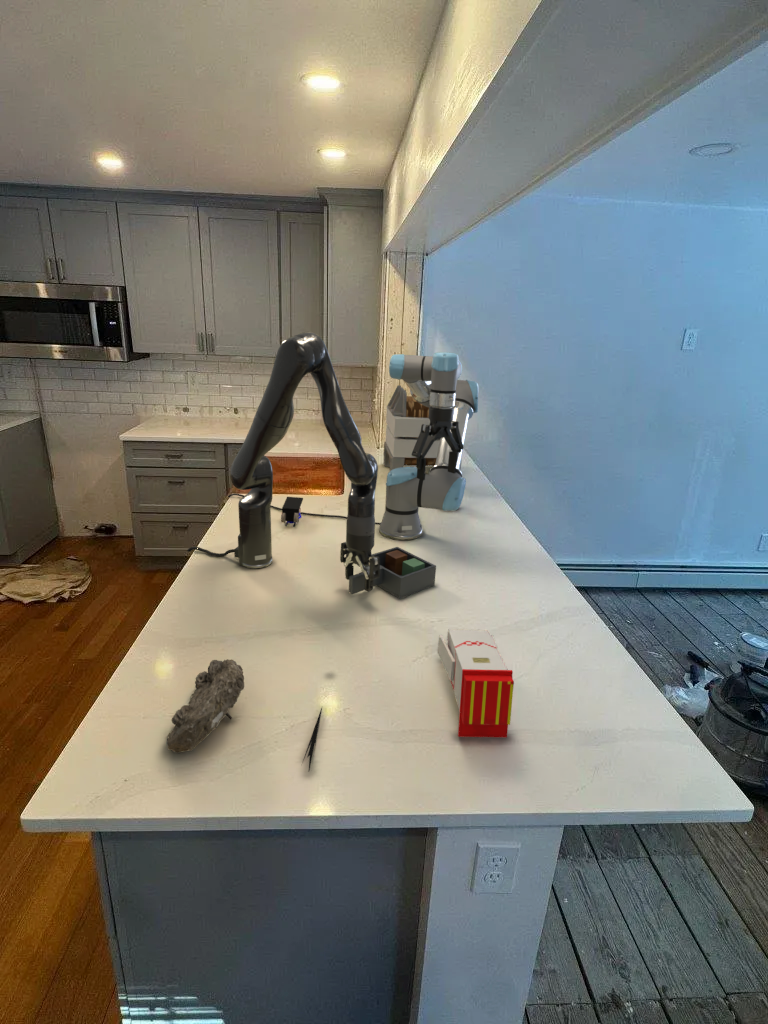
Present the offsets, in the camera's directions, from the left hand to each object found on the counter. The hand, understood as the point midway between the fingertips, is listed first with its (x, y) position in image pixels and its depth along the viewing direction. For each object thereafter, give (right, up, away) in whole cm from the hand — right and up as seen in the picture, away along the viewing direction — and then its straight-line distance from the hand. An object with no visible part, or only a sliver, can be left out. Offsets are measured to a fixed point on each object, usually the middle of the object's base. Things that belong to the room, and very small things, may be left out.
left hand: (358, 584), depth 155 cm
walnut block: (+10, +2, +14) cm, 17 cm away
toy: (+25, -18, -36) cm, 47 cm away
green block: (+15, 0, +9) cm, 18 cm away
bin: (+7, -1, +7) cm, 10 cm away
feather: (-6, -20, -46) cm, 51 cm away
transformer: (+24, +39, +120) cm, 128 cm away
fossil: (-26, -19, -47) cm, 57 cm away
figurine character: (-27, +16, +51) cm, 60 cm away
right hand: (+23, +31, +20) cm, 44 cm away
